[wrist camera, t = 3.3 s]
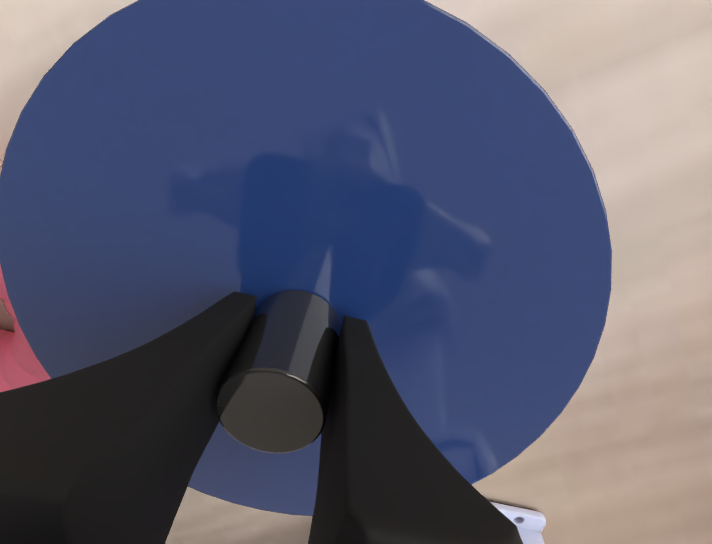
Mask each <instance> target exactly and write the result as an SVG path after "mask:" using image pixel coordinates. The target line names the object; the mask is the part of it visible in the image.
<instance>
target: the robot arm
mask: <svg viewBox="0 0 712 544" xmlns="http://www.w3.org/2000/svg"><path fill="white" fill-rule="evenodd" d="M256 299H257V296H253V295H249V294H244V293H239V292H235V291H234V292H233V293H231V294H229V295H228V296H226V297H225V298H223V299H221V300H220V301H218V302H217V303H215V304H214V305H212V306H211V307H209V308H208V309H206V310H205V311H203V312H201V313H200V314H198V315H197V316H195V317H193V318H192V319H190V320H188V321H187V322H185V323H183V324H182V325H180V326H178V327H177V328H175V329H173V330H171V331H169V332H167V333H165V334H164V335H162V336H160V337H158V338H156V339H154V340H152V341H150V342H148V343H146V344H144V345H142V346H140V347H138V348H135V349H133V350H131V351H128V352H126V353H124V354H121V355H119V356H116V357H114V358H111V359H109V360H106V361H103V362H101V363H98V364H95V365H92V366H89V367H86V368H83V369H80V370H78V371H75V372H72V373H69V374H66V375H63V376H59V377H56V378H52V379H49V380H46V381H42V382H39V383H35V384H31V385H27V386H23V387H19V388H16V389H12V390H8V391H3V392H0V544H165V541H166V539H167V536H168V534H169V531H170V529H171V526H172V524H173V521H174V518H175V516H176V513H177V511H178V508H179V506H180V503H181V501H182V499H183V496H184V494H185V491H186V489H187V486H188V484H189V481H190V479H191V476H192V474H193V472H194V470H195V468H196V466H197V464H198V461H199V459H200V457H201V455H202V454H203V452H204V450H205V448H206V446H207V444H208V442H209V440H210V438H211V436H212V435H213V433H214V431H215V429H216V427H217V425H218V423H219V419H218V416H217V413H216V396H217V393H218V390H219V388H220V386H221V384H222V382H223V380H224V378H225V376H226V374H227V372H228V370H229V368H230V366H231V364H232V362H233V360H234V358H235V356H236V354H237V352H238V350H239V348H240V346H241V344H242V342H243V340H244V338H245V336H246V334H247V332H248V330H249V328H250V326H251V324H252V322H253V320H254V313H255V306H256ZM545 525H546V520H545V517H544V515H543V514H542V513H541V512H538V511H533V510H528V509H523V508H518V507H513V506H509V505H504V504H499V503H494V502H489V501H488V500H487V499H486V498H485V497H483V496H482V495H481V494H480V493H479V492H478V491H477V490H476V489H475V488H474V487H473V486H472V485H471V484H470V483H469V482H468V481H467V480H466V479H465V478H464V477H463V476H462V475H461V474H460V473H459V472H458V471H457V470H456V469H455V468H454V467H453V466H452V465H451V463H450V462H449V461H448V460H447V459H446V458H445V457H444V456H443V454H442V453H441V452H440V451H439V450H438V448H437V447H436V446H435V445H434V444H433V442H432V441H431V440H430V439H429V438H428V436H427V435H426V434H425V433H424V431H423V430H422V429H421V427H420V426H419V425H418V423H417V422H416V420H415V419H414V417H413V416H412V414H411V413H410V411H409V410H408V408H407V407H406V405H405V403H404V402H403V400H402V398H401V397H400V395H399V393H398V391H397V389H396V388H395V386H394V384H393V382H392V380H391V378H390V376H389V374H388V372H387V370H386V368H385V366H384V363H383V361H382V359H381V357H380V354H379V352H378V350H377V347H376V344H375V342H374V339H373V336H372V333H371V330H370V327H369V324H368V323H367V321H366V320H361V319H357V318H352V317H348V316H344V319H343V323H342V327H341V331H340V335H339V339H338V346H337V352H336V358H335V367H334V375H333V381H332V388H331V394H330V400H329V407H328V413H327V419H326V424H325V427H324V429H323V431H322V433H321V446H320V459H319V472H318V484H317V493H316V501H315V507H314V513H313V519H312V525H311V530H310V536H309V542H308V544H545V543H544V540H543V537H542V534H541V531H542V529H543V528H544V526H545Z"/></svg>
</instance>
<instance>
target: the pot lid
mask: <svg viewBox="0 0 712 544" xmlns="http://www.w3.org/2000/svg"><path fill="white" fill-rule="evenodd" d="M611 261H612V250H611V243H610V236H609V229H608V222H607V215H606V209H605V206H604V203H603V200H602V197H601V193H600V190H599V187H598V184H597V181H596V177H595V174H594V171H593V169H592V167H591V165H590V163H589V161H588V159H587V157H586V155H585V153H584V151H583V149H582V147H581V145H580V143H579V141H578V139H577V137H576V135H575V133H574V131H573V129H572V127H571V126H570V125H569V123H568V122H567V120H566V119H565V118H564V116H563V115H562V113H561V112H560V111H559V109H558V108H557V106H556V105H555V104H554V102H553V101H552V99H551V98H550V97H549V95H548V94H547V92H546V91H545V90H544V89H543V88H542V87H541V86H540V85H539V84H538V83H537V82H536V81H535V80H534V79H533V78H532V77H531V76H530V75H529V74H528V73H527V72H526V71H525V69H524V68H523V67H522V66H521V65H520V64H519V63H518V62H517V61H516V60H515V59H514V58H513V57H512V56H511V55H510V54H508V53H507V52H506V51H504V50H503V49H502V48H500V47H499V46H498V45H496V44H495V43H494V42H492V41H491V40H490V39H488V38H487V37H486V36H484V35H483V34H482V33H480V32H479V31H478V30H476V29H475V28H473V27H472V26H471V25H469V24H468V23H467V22H465V21H463V20H461V19H459V18H457V17H455V16H453V15H451V14H449V13H448V12H446V11H444V10H442V9H440V8H438V7H436V6H434V5H432V4H431V3H429V2H427V1H425V0H138V1H136V2H134V3H132V4H130V5H128V6H126V7H124V8H123V9H121V10H119V11H117V12H115V13H113V14H111V15H110V16H108V17H107V18H106V19H105V20H103V21H102V22H101V23H99V24H98V25H97V26H95V27H94V28H93V29H91V30H90V31H89V32H88V33H86V34H85V35H84V36H82V37H81V38H80V39H78V40H77V41H76V42H75V43H74V44H73V45H72V46H71V47H70V48H69V49H68V50H67V51H66V52H65V53H64V55H63V56H62V57H61V58H60V59H59V60H58V61H57V62H56V63H55V64H54V65H53V67H52V68H51V69H50V70H49V71H48V72H47V73H46V74H45V75H44V77H43V78H42V80H41V81H40V83H39V85H38V86H37V88H36V89H35V91H34V92H33V94H32V96H31V97H30V99H29V100H28V102H27V104H26V105H25V107H24V108H23V110H22V112H21V114H20V116H19V119H18V121H17V124H16V126H15V129H14V131H13V133H12V136H11V138H10V141H9V143H8V146H7V148H6V152H5V157H4V161H3V166H2V170H1V175H0V266H1V270H2V274H3V278H4V283H5V287H6V291H7V295H8V297H9V300H10V303H11V305H12V308H13V311H14V313H15V316H16V318H17V321H18V324H19V326H20V328H21V330H22V332H23V334H24V336H25V338H26V339H27V341H28V343H29V345H30V347H31V349H32V351H33V353H34V355H35V356H36V358H37V359H38V361H39V362H40V364H41V365H42V367H43V368H44V370H45V371H46V372H47V374H48V375H49V377H50V378H51V379H52V378H56V377H59V376H63V375H66V374H69V373H72V372H75V371H78V370H80V369H83V368H86V367H89V366H92V365H95V364H98V363H101V362H103V361H106V360H109V359H111V358H114V357H116V356H119V355H121V354H124V353H126V352H128V351H131V350H133V349H135V348H138V347H140V346H142V345H144V344H146V343H148V342H150V341H152V340H154V339H156V338H158V337H160V336H162V335H164V334H165V333H167V332H169V331H171V330H173V329H175V328H177V327H178V326H180V325H182V324H183V323H185V322H187V321H188V320H190V319H192V318H193V317H195V316H197V315H198V314H200V313H201V312H203V311H205V310H206V309H208V308H209V307H211V306H212V305H214V304H215V303H217V302H218V301H220V300H221V299H223V298H225V297H226V296H228V295H229V294H231V293H233V292H234V291H235V292H239V293H244V294H249V295H253V296H257V299H256V306H255V313H254V320H253V322H252V324H251V326H250V328H249V330H248V332H247V334H246V336H245V338H244V340H243V342H242V344H241V346H240V348H239V350H238V352H237V354H236V356H235V358H234V360H233V362H232V364H231V366H230V368H229V370H228V372H227V374H226V376H225V378H224V380H223V382H222V384H221V386H220V388H219V390H218V393H217V396H216V413H217V416H218V419H219V423H218V425H217V427H216V429H215V431H214V433H213V435H212V436H211V438H210V440H209V442H208V444H207V446H206V448H205V450H204V452H203V454H202V455H201V457H200V459H199V461H198V464H197V466H196V468H195V470H194V472H193V474H192V476H191V479H190V481H189V484H188V487H190V488H193V489H195V490H197V491H200V492H202V493H204V494H207V495H210V496H213V497H216V498H219V499H222V500H225V501H228V502H231V503H235V504H239V505H243V506H247V507H251V508H255V509H260V510H264V511H271V512H277V513H284V514H290V515H303V516H313V513H314V507H315V501H316V493H317V484H318V472H319V459H320V446H321V433H322V431H323V429H324V427H325V424H326V419H327V413H328V407H329V400H330V394H331V388H332V381H333V375H334V367H335V358H336V352H337V346H338V339H339V335H340V331H341V327H342V323H343V319H344V316H348V317H352V318H357V319H361V320H366V321H367V323H368V324H369V327H370V330H371V333H372V336H373V339H374V342H375V344H376V347H377V350H378V352H379V354H380V357H381V359H382V361H383V363H384V366H385V368H386V370H387V372H388V374H389V376H390V378H391V380H392V382H393V384H394V386H395V388H396V389H397V391H398V393H399V395H400V397H401V398H402V400H403V402H404V403H405V405H406V407H407V408H408V410H409V411H410V413H411V414H412V416H413V417H414V419H415V420H416V422H417V423H418V425H419V426H420V427H421V429H422V430H423V431H424V433H425V434H426V435H427V436H428V438H429V439H430V440H431V441H432V442H433V444H434V445H435V446H436V447H437V448H438V450H439V451H440V452H441V453H442V454H443V456H444V457H445V458H446V459H447V460H448V461H449V462H450V463H451V465H452V466H453V467H454V468H455V469H456V470H457V471H458V472H459V473H460V474H461V475H462V476H463V477H464V478H465V479H466V480H467V481H468V482H469V483H470V484H471V485H472V484H473V483H475V482H477V481H479V480H481V479H483V478H485V477H487V476H489V475H490V474H492V473H494V472H495V471H496V470H498V469H499V468H501V467H502V466H504V465H505V464H507V463H508V462H510V461H511V460H513V459H514V458H516V457H517V456H518V455H519V454H520V453H522V452H523V451H524V450H525V449H526V448H527V447H529V446H530V445H531V444H532V443H533V442H534V441H535V440H537V439H538V438H539V437H540V436H541V435H542V434H543V433H544V432H545V430H546V429H547V428H548V427H549V426H550V425H551V424H552V423H553V422H554V420H555V419H556V418H557V417H558V416H559V415H560V414H561V412H562V411H563V410H564V408H565V407H566V405H567V404H568V402H569V401H570V399H571V398H572V397H573V395H574V394H575V392H576V391H577V389H578V388H579V386H580V384H581V382H582V380H583V378H584V376H585V374H586V372H587V370H588V368H589V366H590V364H591V362H592V360H593V358H594V356H595V353H596V350H597V347H598V344H599V341H600V338H601V335H602V332H603V329H604V326H605V321H606V316H607V310H608V304H609V298H610V292H611Z"/></svg>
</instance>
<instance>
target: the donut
mask: <svg viewBox="0 0 712 544" xmlns="http://www.w3.org/2000/svg"><path fill="white" fill-rule="evenodd" d="M0 298H1V299H3V302H4V305H5V308H6V310H7V311H8V313H9V314H10V316H11V317H12V318H13V319H14V322H13V324H14V330H15V332H11V331H6V330H0V392H3V391H8V390H12V389H16V388H19V387H23V386H27V385H31V384H35V383H39V382H42V381H46V380H49V379H51V378H50V377H49V375H48V374H47V372H46V371H45V370H44V368H43V367H42V365H41V364H40V362H39V361H38V359H37V358H36V356H35V355H34V353H33V351H32V349H31V347H30V345H29V343H28V341H27V339H26V338H25V336H24V334H23V332H22V330H21V328H20V326H19V324H18V321H17V318H16V316H15V313H14V311H13V308H12V305H11V303H10V300H9V297H8V295H7V291H6V287H5V283H4V278H3V274H2V270H1V266H0Z"/></svg>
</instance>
